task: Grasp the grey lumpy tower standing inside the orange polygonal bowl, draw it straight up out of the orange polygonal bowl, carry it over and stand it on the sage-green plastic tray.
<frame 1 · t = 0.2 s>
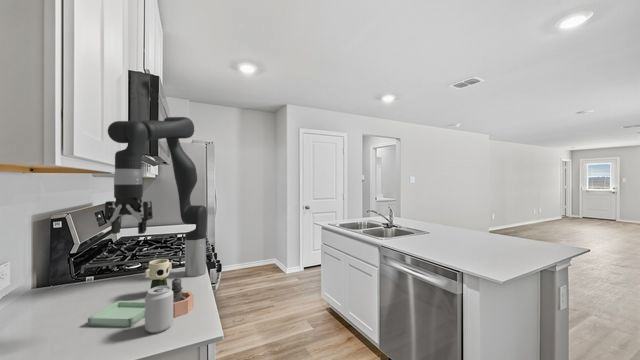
hand: (128, 233, 86), 28 cm above the worktop, tool pointing down, fingers open, 8 cm apart
can: (159, 328, 82), on the worktop
orange polygonal bowl: (176, 310, 94), on the worktop
grey lumpy tower: (176, 310, 94), resting in orange polygonal bowl
tray: (124, 316, 89), on the worktop
character mug: (159, 294, 107), on the worktop
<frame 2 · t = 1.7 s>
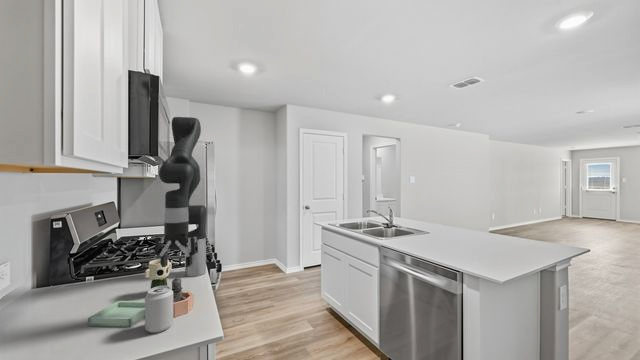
hand: (176, 266, 93), 15 cm above the worktop, tool pointing down, fingers open, 8 cm apart
nothing on the worktop moved.
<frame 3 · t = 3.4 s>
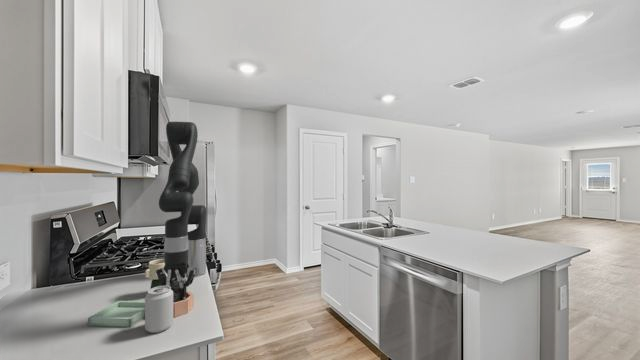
hand: (176, 297, 94), 4 cm above the worktop, tool pointing down, fingers closed on grey lumpy tower, 3 cm apart
grey lumpy tower: (176, 310, 94), resting in orange polygonal bowl, touching gripper
everything else where it was.
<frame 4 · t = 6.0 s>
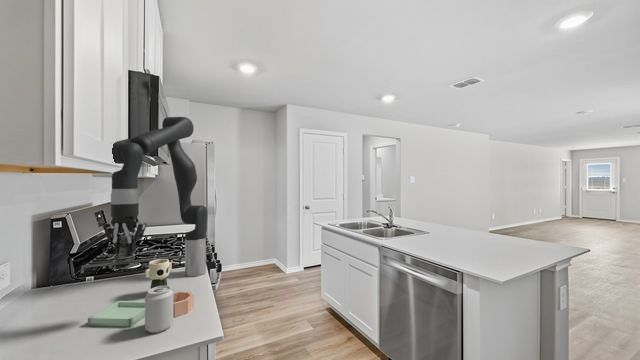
hand: (125, 253, 89), 21 cm above the worktop, tool pointing down, fingers closed on grey lumpy tower, 3 cm apart
grey lumpy tower: (125, 267, 89), point 16 cm above the worktop, touching gripper
everything else where it was.
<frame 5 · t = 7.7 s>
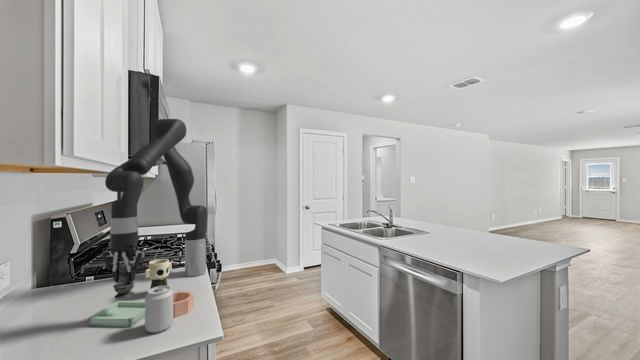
hand: (124, 281, 89), 12 cm above the worktop, tool pointing down, fingers closed on grey lumpy tower, 3 cm apart
grey lumpy tower: (124, 295, 89), point 7 cm above the worktop, touching gripper
everything else where it was.
when the fingers open (7 cm above the worktop, at t = 9.0 s): grey lumpy tower drops 1 cm, resting on tray.
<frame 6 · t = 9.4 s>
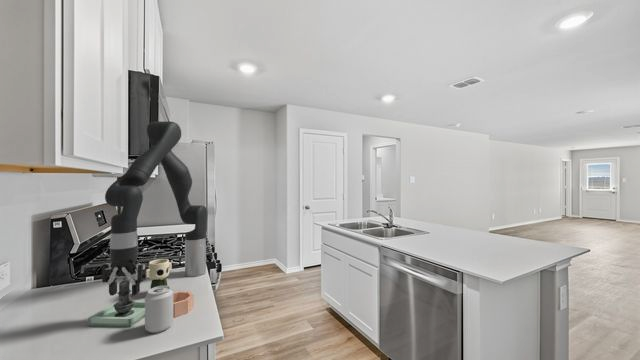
hand: (124, 294, 89), 7 cm above the worktop, tool pointing down, fingers open, 7 cm apart
grey lumpy tower: (124, 314, 89), point 1 cm above the worktop, touching tray
everything else where it was.
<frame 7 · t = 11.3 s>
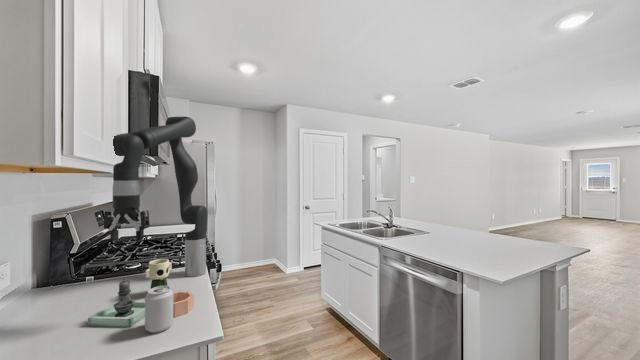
hand: (127, 241, 91), 25 cm above the worktop, tool pointing down, fingers open, 8 cm apart
nothing on the worktop moved.
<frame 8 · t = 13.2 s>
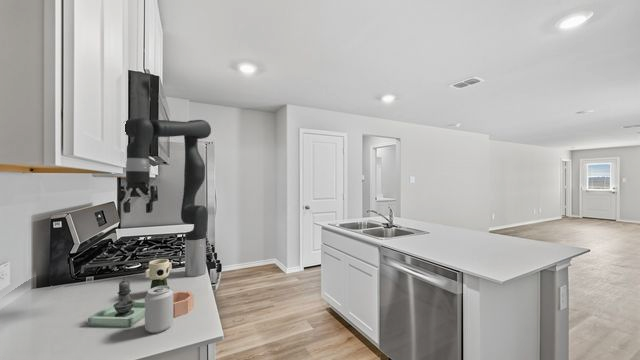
hand: (137, 212, 102), 33 cm above the worktop, tool pointing down, fingers open, 8 cm apart
nothing on the worktop moved.
at the end: grey lumpy tower inside the target area on the tray (0.1 cm from its centre), point 0.6 cm above the tray's base; grey lumpy tower tilted 0°; the gripper is holding nothing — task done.
